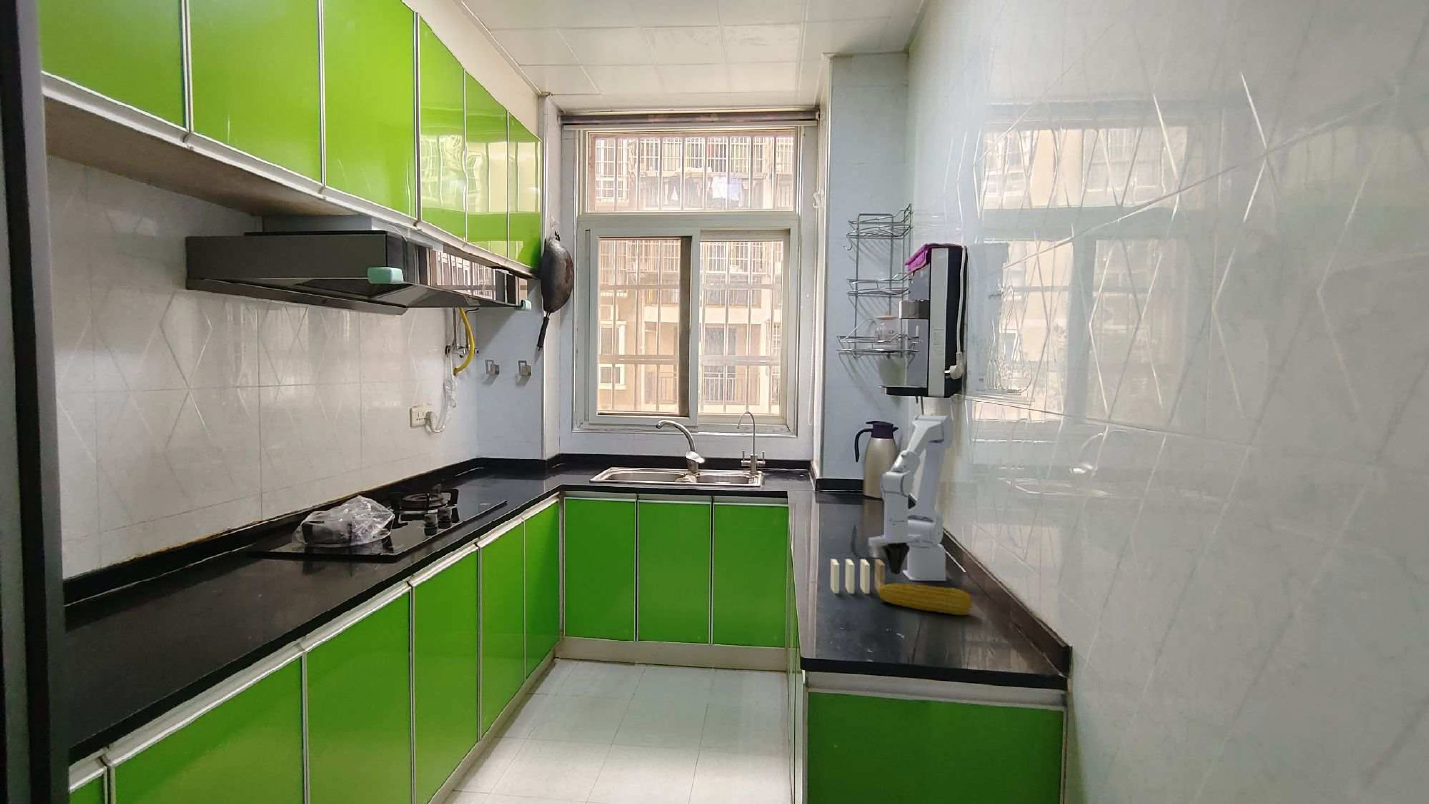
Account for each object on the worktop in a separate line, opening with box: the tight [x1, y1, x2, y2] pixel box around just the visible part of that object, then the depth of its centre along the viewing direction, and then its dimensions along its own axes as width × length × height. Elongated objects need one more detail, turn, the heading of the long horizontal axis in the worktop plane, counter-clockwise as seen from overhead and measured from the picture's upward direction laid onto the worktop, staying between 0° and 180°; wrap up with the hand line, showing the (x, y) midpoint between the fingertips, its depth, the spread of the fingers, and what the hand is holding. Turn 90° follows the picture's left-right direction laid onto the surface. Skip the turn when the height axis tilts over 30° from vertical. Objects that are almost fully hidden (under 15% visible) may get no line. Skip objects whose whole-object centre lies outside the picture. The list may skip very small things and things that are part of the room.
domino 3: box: [859, 558, 871, 595], centre depth 168 cm, size 1×5×7 cm, turn 0°
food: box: [877, 583, 973, 616], centre depth 155 cm, size 21×6×6 cm, turn 62°
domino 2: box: [845, 558, 855, 594], centre depth 168 cm, size 1×5×7 cm, turn 0°
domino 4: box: [874, 559, 886, 592], centre depth 168 cm, size 1×5×7 cm, turn 0°
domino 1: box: [830, 558, 840, 594], centre depth 168 cm, size 1×5×7 cm, turn 0°
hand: (895, 572), depth 168 cm, fingers closed
